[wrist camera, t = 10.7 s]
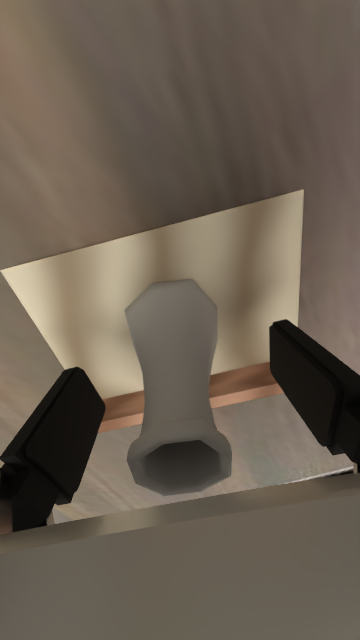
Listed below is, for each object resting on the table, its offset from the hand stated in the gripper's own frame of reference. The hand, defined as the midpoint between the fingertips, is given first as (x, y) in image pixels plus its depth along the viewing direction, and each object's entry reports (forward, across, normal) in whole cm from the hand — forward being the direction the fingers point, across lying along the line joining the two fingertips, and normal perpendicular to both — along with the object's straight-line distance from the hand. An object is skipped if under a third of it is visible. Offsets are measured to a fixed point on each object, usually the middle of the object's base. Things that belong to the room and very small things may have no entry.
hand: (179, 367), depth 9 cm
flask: (+6, 0, 0) cm, 6 cm away
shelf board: (+7, 0, +1) cm, 7 cm away
